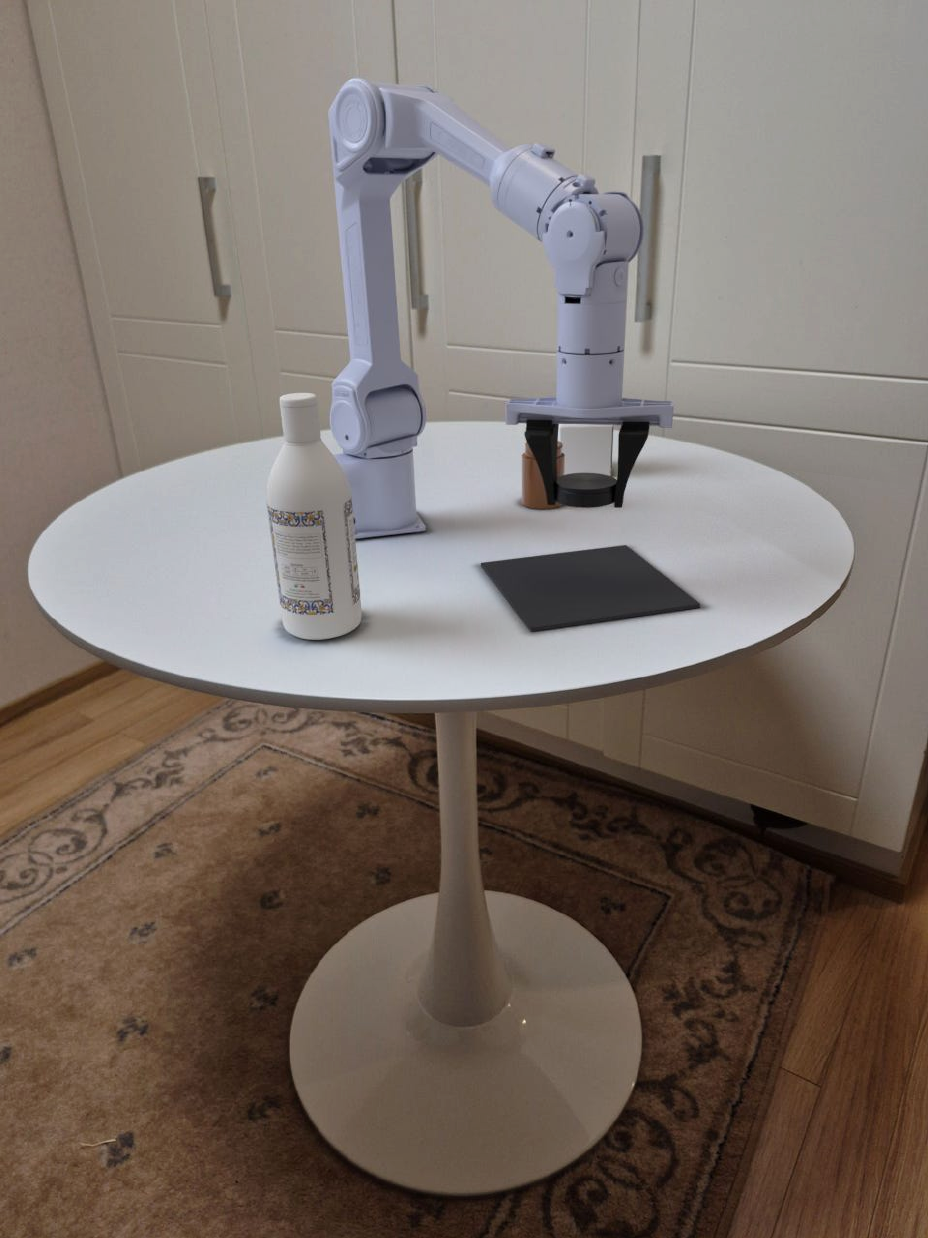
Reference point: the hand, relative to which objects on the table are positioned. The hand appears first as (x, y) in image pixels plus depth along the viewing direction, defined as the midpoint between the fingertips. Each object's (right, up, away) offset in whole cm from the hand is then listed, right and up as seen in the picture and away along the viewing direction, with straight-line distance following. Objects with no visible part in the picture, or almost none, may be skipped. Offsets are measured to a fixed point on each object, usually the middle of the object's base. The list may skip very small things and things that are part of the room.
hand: (585, 503), depth 79 cm
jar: (-1, +4, +27) cm, 28 cm away
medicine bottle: (+5, +10, +40) cm, 41 cm away
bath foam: (-24, -11, -3) cm, 26 cm away
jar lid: (0, +2, -1) cm, 2 cm away
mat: (0, -7, +3) cm, 8 cm away
